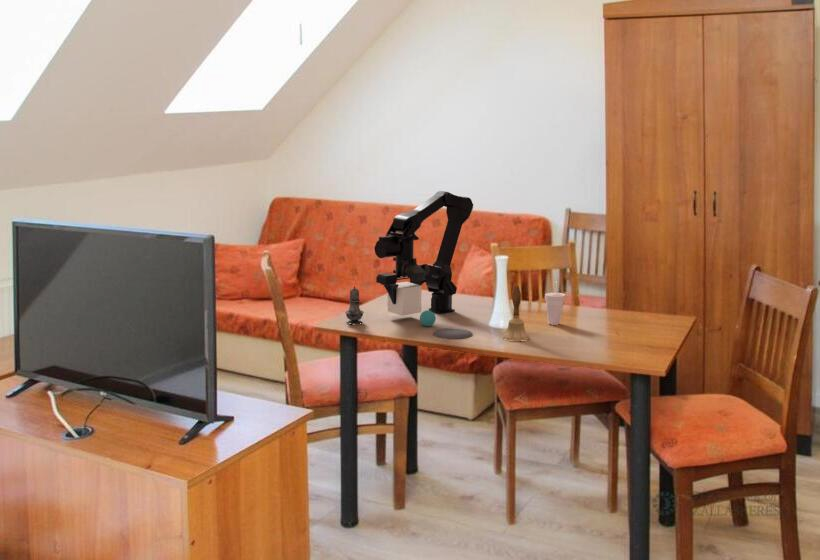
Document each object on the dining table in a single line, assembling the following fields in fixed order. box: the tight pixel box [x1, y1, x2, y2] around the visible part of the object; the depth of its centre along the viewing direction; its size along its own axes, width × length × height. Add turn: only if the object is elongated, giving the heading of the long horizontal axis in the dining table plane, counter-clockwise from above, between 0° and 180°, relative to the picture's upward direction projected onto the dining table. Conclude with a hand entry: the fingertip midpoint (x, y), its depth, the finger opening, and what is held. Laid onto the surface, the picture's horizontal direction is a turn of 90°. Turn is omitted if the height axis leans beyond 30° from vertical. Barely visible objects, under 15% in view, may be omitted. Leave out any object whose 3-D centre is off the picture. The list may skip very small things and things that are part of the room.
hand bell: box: [501, 285, 530, 342], centre depth 291 cm, size 8×8×16 cm
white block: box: [387, 281, 422, 316], centre depth 313 cm, size 8×8×9 cm
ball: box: [419, 309, 437, 327], centre depth 305 cm, size 5×5×5 cm
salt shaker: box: [344, 285, 365, 325], centre depth 307 cm, size 6×6×12 cm
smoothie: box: [544, 280, 566, 326], centre depth 308 cm, size 6×6×14 cm
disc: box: [432, 327, 474, 340], centre depth 296 cm, size 12×12×1 cm
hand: (404, 302), depth 314 cm, fingers closed on white block, 8 cm apart
